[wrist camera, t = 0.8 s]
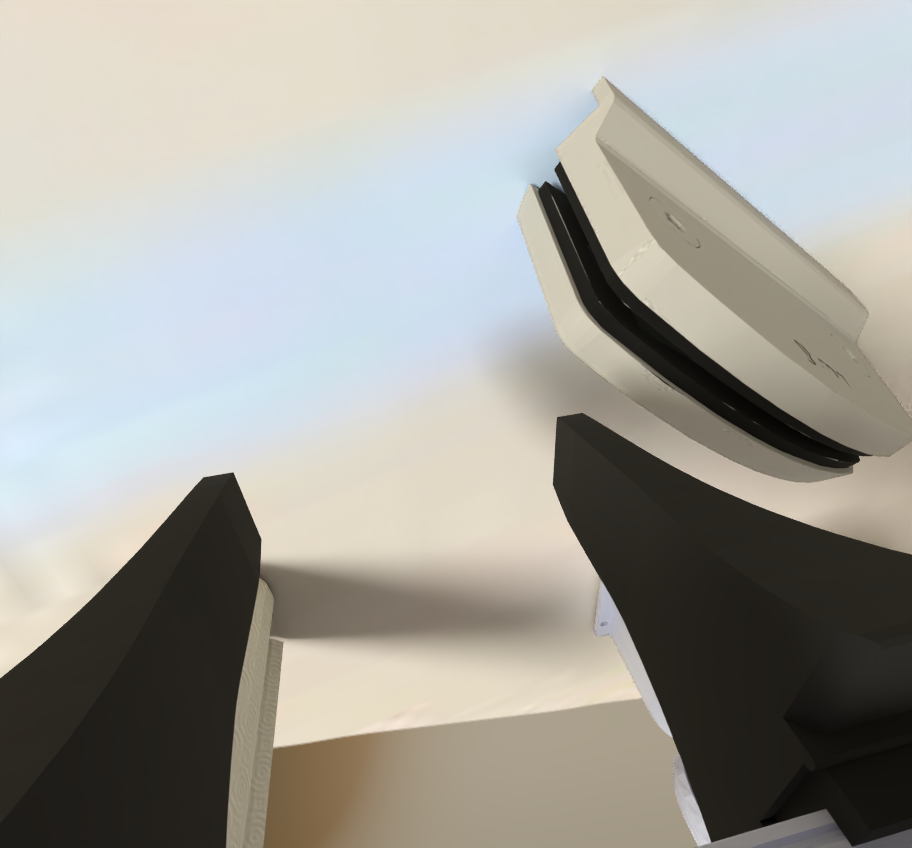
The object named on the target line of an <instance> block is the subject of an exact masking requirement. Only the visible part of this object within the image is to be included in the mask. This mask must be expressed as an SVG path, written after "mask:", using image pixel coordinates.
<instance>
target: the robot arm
mask: <svg viewBox="0 0 912 848" xmlns="http://www.w3.org/2000/svg"><path fill="white" fill-rule="evenodd" d="M553 486H554V489H555V491H556V494H557V496H558V499H559V501H560V504H561V506H562V509H563V511H564V514H565V516H566V518H567V521H568V523H569V524H570V526H571V528H572V530H573V532H574V533H575V535H576V537H577V539H578V540H579V542H580V544H581V546H582V548H583V549H584V551H585V553H586V555H587V556H588V558H589V560H590V561H591V563H592V565H593V567H594V568H595V570H596V572H597V574H598V575H599V577H600V579H601V582H600V589H599V596H598V603H597V610H596V617H595V624H594V632H595V634H596V635H597V636H605V635H609V634H610V635H611V637H612V639H613V641H614V643H615V645H616V647H617V649H618V651H619V653H620V655H621V657H622V659H623V661H624V663H625V665H626V667H627V669H628V671H629V673H630V675H631V677H632V679H633V681H634V683H635V685H636V687H637V689H638V691H639V693H640V695H641V697H642V699H643V701H644V703H645V705H646V707H647V709H648V711H649V713H650V714H651V716H652V718H653V719H654V720H655V722H656V723H657V724H658V725H659V727H660V728H661V729H662V730H663V731H664V732H666V733H667V734H668V735H669V736H671V737H672V738H673V739H674V742H675V744H676V747H677V749H678V752H679V753H678V754H677V755H676V756H675V757H674V759H673V786H674V790H675V794H676V798H677V800H678V803H679V806H680V809H681V811H682V814H683V816H684V818H685V821H686V823H687V825H688V827H689V829H690V831H691V833H692V835H693V837H694V839H695V841H696V843H697V845H698V847H695V848H912V555H911V554H907V553H902V552H898V551H894V550H890V549H886V548H883V547H879V546H876V545H872V544H869V543H865V542H862V541H859V540H855V539H852V538H848V537H845V536H841V535H838V534H835V533H832V532H829V531H826V530H822V529H819V528H816V527H813V526H810V525H807V524H804V523H802V522H799V521H796V520H793V519H791V518H788V517H785V516H782V515H779V514H777V513H774V512H771V511H769V510H766V509H764V508H761V507H758V506H756V505H753V504H751V503H749V502H746V501H744V500H742V499H740V498H737V497H735V496H733V495H730V494H728V493H726V492H723V491H721V490H719V489H717V488H715V487H713V486H710V485H708V484H706V483H704V482H702V481H700V480H698V479H696V478H694V477H692V476H690V475H689V474H687V473H685V472H683V471H681V470H679V469H677V468H675V467H673V466H671V465H670V464H668V463H666V462H664V461H662V460H661V459H659V458H657V457H655V456H654V455H652V454H650V453H648V452H647V451H645V450H643V449H642V448H640V447H638V446H636V445H635V444H633V443H632V442H630V441H628V440H627V439H625V438H623V437H622V436H620V435H618V434H617V433H615V432H613V431H612V430H610V429H609V428H607V427H605V426H604V425H602V424H600V423H599V422H597V421H595V420H594V419H592V418H590V417H589V416H587V415H585V414H583V413H580V414H574V415H568V416H562V417H557V426H556V442H555V459H554V475H553ZM260 560H261V537H260V535H259V533H258V530H257V528H256V525H255V523H254V521H253V518H252V516H251V514H250V511H249V509H248V506H247V504H246V502H245V499H244V497H243V494H242V492H241V490H240V487H239V485H238V482H237V480H236V478H235V475H234V473H227V474H221V475H215V476H209V477H204V478H203V479H202V480H201V481H200V482H199V483H198V484H197V485H196V486H195V487H194V488H193V489H192V491H191V492H190V493H189V494H188V495H187V496H186V497H185V499H184V500H183V501H182V502H181V503H180V504H179V506H178V507H177V508H176V509H175V510H174V511H173V512H172V514H171V515H170V516H169V517H168V518H167V519H166V521H165V522H164V523H163V524H162V525H161V526H160V527H159V528H158V530H157V531H156V532H155V533H154V534H153V535H152V536H151V537H150V539H149V540H148V541H147V542H146V543H145V544H144V545H143V546H142V548H141V549H140V550H139V551H138V552H137V553H136V554H135V555H134V556H133V557H132V558H131V559H130V560H129V561H128V562H127V563H126V564H125V565H124V566H123V567H122V569H121V570H120V571H119V572H118V573H117V574H116V575H115V576H114V577H113V578H112V579H111V580H110V581H109V582H108V583H107V584H106V585H105V586H104V587H103V588H102V589H101V590H100V591H99V592H98V593H97V594H96V595H95V596H94V597H93V598H92V599H91V600H90V601H89V602H88V603H87V604H86V605H85V606H84V607H83V608H82V609H81V610H80V611H79V612H77V613H76V614H75V615H74V616H73V617H72V618H71V619H70V620H69V621H68V622H67V623H65V624H64V625H63V626H62V627H61V628H60V629H59V630H58V631H56V632H55V633H54V634H53V635H52V636H51V637H50V638H49V639H47V640H46V641H45V642H44V643H43V644H42V645H41V646H39V647H38V648H37V649H36V650H35V651H34V652H32V653H31V654H30V655H29V656H28V657H26V658H25V659H24V660H23V661H21V662H20V663H19V664H18V665H16V666H15V667H14V668H13V669H11V670H10V671H9V672H8V673H6V674H5V675H4V676H3V677H1V678H0V848H226V840H227V819H228V802H229V788H230V773H231V759H232V748H233V736H234V725H235V714H236V705H237V698H238V692H239V685H240V679H241V674H242V669H243V664H244V659H245V654H246V649H247V644H248V639H249V633H250V628H251V623H252V618H253V613H254V607H255V602H256V597H257V591H258V586H259V576H260Z"/></svg>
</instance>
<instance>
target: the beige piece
mask: <svg viewBox="0 0 912 848" xmlns="http://www.w3.org/2000/svg"><path fill="white" fill-rule="evenodd" d="M592 93H593V95H594V97H595V98H596V100H597V102H598V104H599V106H598V107H597V108H596V109H595V110H594V111H593V112H592V113H591V114H590V115H589V116H588V117H587V118H586V119H585V120H584V121H583V122H582V123H581V124H580V125H579V126H578V127H577V128H576V129H575V130H574V131H573V132H572V133H571V134H570V135H569V136H568V137H567V138H566V139H565V140H564V141H563V142H562V143H561V144H560V145H559V146H558V147H557V148H556V149H555V151H556V153H557V156H558V158H559V160H560V162H559V164H558V165H557V166H556V168H555V172H556V174H557V176H558V178H559V180H560V183H561V185H562V187H563V189H564V191H565V193H566V195H567V196H566V195H565V194H563V193H562V192H561V191H559V190H558V189H556V188H555V187H553V186H552V185H551V184H549V183H548V182H546V181H545V182H544V184H543V185H542V186H541V188H540V189H538V188H536V187H535V186H533V185H532V184H530V185H529V187H528V189H527V191H526V193H525V195H524V197H523V199H522V201H521V204H520V207H519V210H518V213H517V219H518V222H519V225H520V228H521V231H522V234H523V236H524V239H525V242H526V245H527V248H528V251H529V254H530V257H531V260H532V263H533V265H534V268H535V271H536V274H537V277H538V280H539V283H540V286H541V289H542V292H543V295H544V297H545V300H546V303H547V306H548V309H549V312H550V315H551V318H552V321H553V324H554V327H555V329H556V332H557V334H558V335H559V337H560V339H561V340H562V342H563V343H564V344H565V345H566V347H567V348H568V349H569V350H570V351H571V352H572V353H573V354H574V355H576V356H577V357H578V358H579V359H581V360H582V361H583V362H584V363H586V364H587V365H588V366H589V367H590V368H592V369H593V370H594V371H595V372H597V373H598V374H599V375H600V376H602V377H603V378H604V379H605V380H607V381H608V382H609V383H611V384H612V385H614V386H615V387H616V388H618V389H619V390H620V391H622V392H623V393H624V394H626V395H627V396H628V397H630V398H631V399H632V400H634V401H635V402H636V403H638V404H639V405H641V406H642V407H644V408H645V409H647V410H648V411H650V412H651V413H653V414H654V415H656V416H657V417H659V418H660V419H662V420H663V421H665V422H666V423H668V424H669V425H671V426H672V427H674V428H675V429H677V430H679V431H680V432H682V433H683V434H685V435H686V436H688V437H689V438H691V439H693V440H695V441H697V442H698V443H700V444H702V445H704V446H706V447H708V448H709V449H711V450H713V451H715V452H717V453H719V454H720V455H722V456H724V457H726V458H728V459H730V460H732V461H734V462H736V463H739V464H741V465H743V466H745V467H748V468H750V469H752V470H755V471H758V472H761V473H763V474H766V475H769V476H772V477H776V478H779V479H783V480H788V481H793V482H806V483H810V482H817V481H823V480H827V479H831V478H835V477H839V476H844V475H848V474H851V473H853V466H852V465H854V464H856V463H858V462H859V461H860V459H859V456H873V455H874V456H887V457H889V456H891V455H892V454H894V453H895V452H897V451H898V450H899V449H901V448H902V447H904V446H905V445H907V444H908V443H910V442H911V441H912V419H911V418H910V417H909V415H908V414H907V412H906V411H905V410H904V408H903V407H902V406H901V404H900V403H899V402H898V400H897V399H896V398H895V396H894V395H893V394H892V392H891V391H890V390H889V388H888V387H887V386H886V384H885V383H884V382H883V380H882V379H881V377H880V376H879V375H878V373H877V372H876V371H875V369H874V368H873V367H872V365H871V364H870V363H869V361H868V360H867V359H866V357H865V356H864V355H863V353H862V352H861V351H860V349H859V348H858V346H857V344H856V341H857V338H858V336H859V334H860V332H861V330H862V328H863V326H864V324H865V322H866V320H867V318H868V311H867V309H866V308H865V307H864V306H863V305H862V304H861V303H860V301H859V300H858V299H857V298H856V297H855V296H854V294H853V293H852V292H851V291H850V290H849V289H848V288H847V287H846V286H845V285H844V284H842V283H841V282H840V281H839V280H838V279H837V278H835V277H834V276H833V275H832V274H831V273H830V272H829V271H827V270H826V269H825V268H824V267H823V266H822V265H820V264H819V263H818V262H817V261H816V260H815V259H814V258H812V257H811V256H810V255H809V254H808V253H807V252H805V251H804V250H803V249H802V248H801V247H800V246H799V245H797V244H796V243H795V242H794V241H793V240H792V239H790V238H789V237H788V236H787V235H786V234H785V233H784V232H782V231H781V230H780V229H779V228H778V227H777V226H775V225H774V224H773V223H772V222H771V221H770V220H768V219H767V218H766V217H765V216H764V215H763V214H762V213H760V212H759V211H758V210H757V209H756V208H755V207H753V206H752V205H751V204H750V203H749V202H748V201H747V200H745V199H744V198H743V197H742V196H741V195H740V194H738V193H737V192H736V191H735V190H734V189H733V188H732V187H730V186H729V185H728V184H727V183H726V182H725V181H723V180H722V179H721V178H720V177H719V176H718V175H717V174H715V173H714V172H713V171H712V170H711V169H710V168H708V167H707V166H706V165H705V164H704V163H703V162H701V161H700V160H699V159H698V158H697V157H696V156H695V155H693V154H692V153H691V152H690V151H689V150H688V149H686V148H685V147H684V146H683V145H682V144H681V143H680V142H678V141H677V140H676V139H675V138H674V137H673V136H671V135H670V134H669V133H668V132H667V131H666V130H665V129H663V128H662V127H661V126H660V125H659V124H658V123H656V122H655V121H654V120H653V119H652V118H651V117H650V116H648V115H647V114H646V113H645V112H644V111H643V110H641V109H640V108H639V107H638V106H637V105H636V104H634V103H633V102H632V101H631V100H630V99H629V98H628V97H626V96H625V95H624V94H623V93H622V92H621V91H619V90H618V89H617V88H616V87H615V86H614V85H613V84H611V83H610V82H609V81H608V80H607V79H606V78H604V77H603V76H602V77H601V79H600V80H599V81H598V82H597V84H596V85H595V86H594V88H593V89H592ZM858 455H859V456H858Z"/></svg>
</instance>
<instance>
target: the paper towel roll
mask: <svg viewBox="0 0 912 848" xmlns="http://www.w3.org/2000/svg"><path fill="white" fill-rule="evenodd" d="M273 605H274V597H273V595H272V593H271V591H270V589H269V587H268V585H267V583H266V582H265V581H263V580H262V579H260V578H259V586H258V591H257V597H256V602H255V607H254V613H253V618H252V623H251V628H250V633H249V639H248V644H247V649H246V654H245V659H244V664H243V669H242V674H241V679H240V685H239V692H238V698H237V705H236V714H235V725H234V736H233V748H232V759H231V773H230V788H229V802H228V819H227V840H226V848H263V842H264V832H265V822H266V812H267V802H268V801H267V800H268V792H269V782H270V772H271V761H272V752H273V742H274V732H275V722H276V712H277V702H278V692H279V682H280V672H281V662H282V652H283V642H281V641H278V640H274V639H269V637H270V629H271V621H272V613H273Z"/></svg>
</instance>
